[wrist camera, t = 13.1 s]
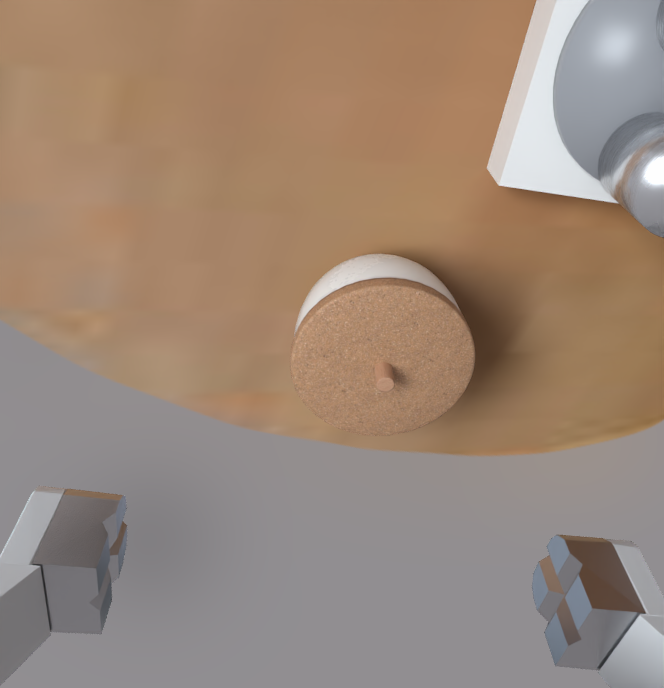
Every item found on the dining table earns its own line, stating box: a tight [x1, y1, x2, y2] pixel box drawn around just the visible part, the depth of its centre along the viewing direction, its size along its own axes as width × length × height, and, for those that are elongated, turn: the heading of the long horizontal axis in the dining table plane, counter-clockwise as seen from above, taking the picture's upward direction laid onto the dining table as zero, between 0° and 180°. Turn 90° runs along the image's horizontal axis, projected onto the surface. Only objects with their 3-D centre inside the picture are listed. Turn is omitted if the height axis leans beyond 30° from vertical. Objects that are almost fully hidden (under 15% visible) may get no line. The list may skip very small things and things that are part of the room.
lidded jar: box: [290, 254, 476, 436], centre depth 39 cm, size 11×11×9 cm
